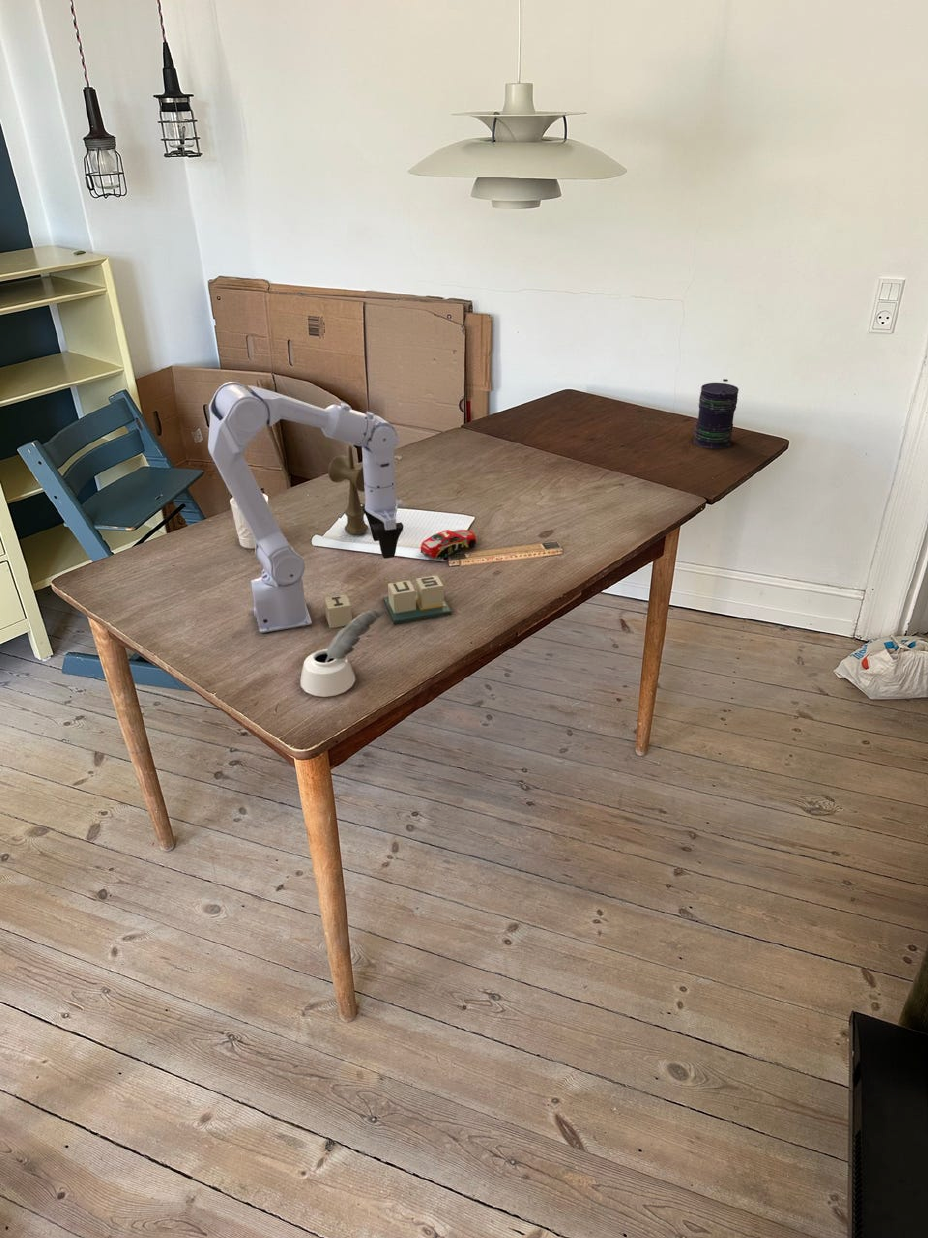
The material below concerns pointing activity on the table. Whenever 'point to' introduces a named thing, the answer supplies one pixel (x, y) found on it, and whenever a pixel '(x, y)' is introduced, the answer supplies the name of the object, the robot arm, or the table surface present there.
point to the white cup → (243, 526)
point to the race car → (447, 543)
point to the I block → (338, 611)
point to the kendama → (344, 470)
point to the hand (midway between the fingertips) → (383, 548)
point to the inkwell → (336, 659)
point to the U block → (402, 596)
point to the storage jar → (716, 415)
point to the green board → (417, 612)
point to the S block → (429, 591)
